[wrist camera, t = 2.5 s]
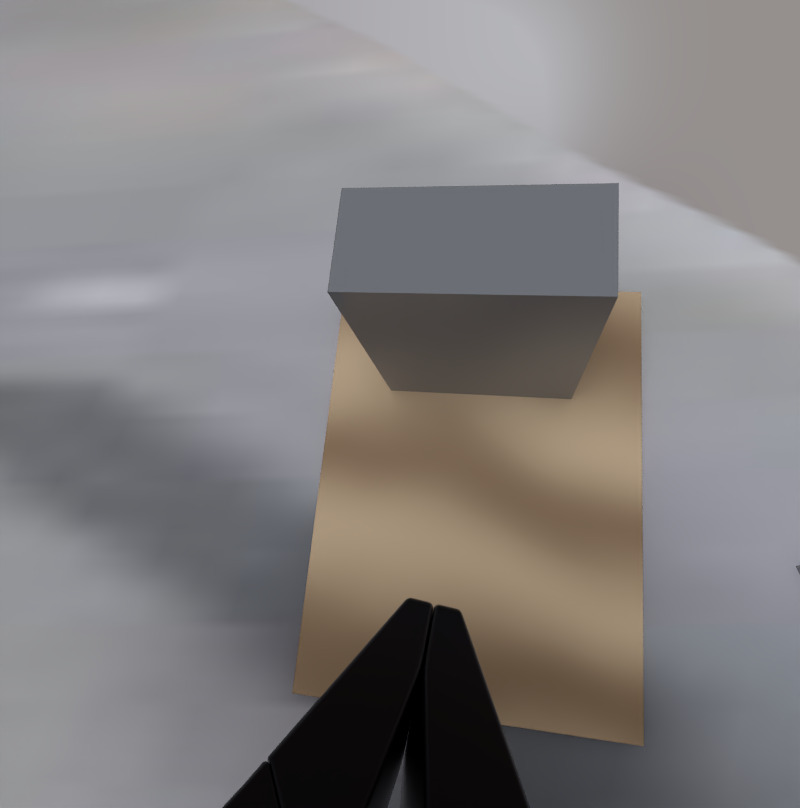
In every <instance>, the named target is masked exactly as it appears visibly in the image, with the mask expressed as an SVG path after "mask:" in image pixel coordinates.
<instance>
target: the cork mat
mask: <svg viewBox="0 0 800 808" xmlns="http://www.w3.org/2000/svg"><path fill="white" fill-rule="evenodd" d="M407 598H414V599H419V600H423V601H427V602H430V603H431V604H432V605H433V608H434V606H435V605H438V604H439V605H443V606H447V607H452V608H456V609H459V610H460V611H461V612H462V614H463V617H464V620H465V623H466V626H467V629H468V631H469V634H470V637H471V640H472V643H473V646H474V649H475V651H476V654H477V657H478V660H479V663H480V666H481V669H482V672H483V674H484V677H485V680H486V683H487V686H488V689H489V692H490V695H491V697H492V700H493V703H494V706H495V709H496V712H497V715H498V717H499V720H500V723H501V725H506V726H513V727H519V728H526V729H533V730H539V731H546V732H553V733H559V734H566V735H572V736H579V737H586V738H592V739H599V740H605V741H612V742H619V743H625V744H632V745H639V746H644V698H643V543H642V388H641V292H618V298H617V300H616V302H615V305H614V307H613V309H612V311H611V313H610V316H609V318H608V320H607V322H606V324H605V327H604V329H603V331H602V333H601V335H600V337H599V340H598V342H597V344H596V346H595V348H594V351H593V353H592V355H591V357H590V359H589V362H588V364H587V366H586V368H585V370H584V372H583V375H582V377H581V379H580V381H579V383H578V386H577V388H576V390H575V392H574V394H573V397H572V399H556V398H535V397H515V396H494V395H473V394H452V393H432V392H411V391H391V390H390V388H389V387H388V385H387V384H386V382H385V380H384V379H383V377H382V376H381V374H380V373H379V371H378V370H377V368H376V366H375V365H374V363H373V362H372V360H371V359H370V357H369V356H368V354H367V352H366V351H365V349H364V348H363V346H362V345H361V343H360V342H359V340H358V338H357V337H356V335H355V334H354V332H353V331H352V329H351V328H350V326H349V324H348V323H347V321H346V320H345V318H344V317H343V315H342V314H341V322H340V330H339V337H338V345H337V353H336V360H335V368H334V376H333V384H332V391H331V399H330V407H329V414H328V422H327V430H326V438H325V445H324V453H323V461H322V468H321V476H320V484H319V492H318V499H317V507H316V515H315V522H314V530H313V538H312V546H311V553H310V561H309V569H308V576H307V584H306V592H305V600H304V607H303V615H302V623H301V630H300V638H299V646H298V654H297V661H296V669H295V677H294V684H293V692H292V693H295V694H301V695H308V696H314V697H321V696H322V695H323V694H324V692H325V691H326V690H327V689H328V688H329V687H330V686H331V684H332V683H333V682H334V681H335V680H336V679H337V678H338V676H339V675H340V674H341V673H342V672H343V671H344V670H345V668H346V667H347V666H348V665H349V664H350V663H351V662H352V660H353V659H354V658H355V657H356V656H357V655H358V654H359V652H360V651H361V650H362V649H363V648H364V647H365V645H366V644H367V643H368V642H369V641H370V640H371V639H372V637H373V636H374V635H375V634H376V633H377V632H378V631H379V629H380V628H381V627H382V626H383V625H384V624H385V623H386V621H387V620H388V619H389V618H390V617H391V616H392V615H393V613H394V612H395V611H396V610H397V609H398V608H399V607H400V605H401V604H402V603H403V602H404V601H405V600H406V599H407ZM432 613H433V612H432Z"/></svg>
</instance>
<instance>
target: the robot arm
mask: <svg viewBox="0 0 800 808" xmlns="http://www.w3.org/2000/svg"><path fill="white" fill-rule="evenodd" d="M432 612H433V613H432ZM410 722H411V723H410ZM409 727H410V728H409ZM408 732H409V733H408ZM407 737H408V738H407ZM406 741H407V744H406ZM405 746H406V751H405V757H404V767H403V777H402V789H401V802H400V808H530V806H529V803H528V801H527V798H526V795H525V792H524V789H523V786H522V783H521V781H520V778H519V775H518V772H517V769H516V766H515V763H514V760H513V758H512V755H511V752H510V749H509V746H508V743H507V740H506V738H505V735H504V732H503V729H502V726H501V723H500V720H499V717H498V715H497V712H496V709H495V706H494V703H493V700H492V697H491V695H490V692H489V689H488V686H487V683H486V680H485V677H484V674H483V672H482V669H481V666H480V663H479V660H478V657H477V654H476V651H475V649H474V646H473V643H472V640H471V637H470V634H469V631H468V629H467V626H466V623H465V620H464V617H463V614H462V612H461V611H460V610H459V609H456V608H452V607H447V606H443V605H439V604H438V605H435V606H434V608H433V605H432V604H431V603H430V602H427V601H423V600H419V599H414V598H407V599H406V600H405V601H404V602H403V603H402V604H401V605H400V607H399V608H398V609H397V610H396V611H395V612H394V613H393V615H392V616H391V617H390V618H389V619H388V620H387V621H386V623H385V624H384V625H383V626H382V627H381V628H380V629H379V631H378V632H377V633H376V634H375V635H374V636H373V637H372V639H371V640H370V641H369V642H368V643H367V644H366V645H365V647H364V648H363V649H362V650H361V651H360V652H359V654H358V655H357V656H356V657H355V658H354V659H353V660H352V662H351V663H350V664H349V665H348V666H347V667H346V668H345V670H344V671H343V672H342V673H341V674H340V675H339V676H338V678H337V679H336V680H335V681H334V682H333V683H332V684H331V686H330V687H329V688H328V689H327V690H326V691H325V692H324V694H323V695H322V696H321V697H320V698H319V699H318V700H317V702H316V703H315V704H314V705H313V706H312V707H311V708H310V710H309V711H308V712H307V713H306V714H305V715H304V716H303V718H302V719H301V720H300V721H299V722H298V723H297V724H296V726H295V727H294V728H293V729H292V730H291V731H290V732H289V734H288V735H287V736H286V737H285V738H284V739H283V741H282V742H281V743H280V744H279V745H278V746H277V747H276V749H275V750H274V751H273V752H272V753H271V754H270V755H269V757H268V762H266V761H265V762H263V763H262V764H261V765H260V766H259V768H258V769H257V770H256V771H255V772H254V773H253V774H252V776H251V777H250V778H249V779H248V780H247V781H246V782H245V784H244V785H243V786H242V787H241V788H240V789H239V790H238V791H237V792H236V793H235V794H234V796H233V797H232V798H231V799H230V800H229V801H228V802H227V803H226V804H225V805H224V806H223V807H222V808H387V807H388V804H389V801H390V798H391V794H392V791H393V788H394V785H395V782H396V779H397V775H398V772H399V769H400V765H401V762H402V758H403V755H404V750H405Z"/></svg>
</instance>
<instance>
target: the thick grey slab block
mask: <svg viewBox="0 0 800 808" xmlns="http://www.w3.org/2000/svg"><path fill="white" fill-rule="evenodd" d="M618 207H619V183H609V184H552V185H496V186H439V187H383V188H342V190H341V197H340V205H339V212H338V219H337V226H336V234H335V241H334V248H333V256H332V263H331V270H330V277H329V285H328V293H329V295H330V297H331V298H332V300H333V301H334V303H335V304H336V306H337V307H338V309H339V310H340V312H341V314H342V315H343V317H344V318H345V320H346V321H347V323H348V324H349V326H350V328H351V329H352V331H353V332H354V334H355V335H356V337H357V338H358V340H359V342H360V343H361V345H362V346H363V348H364V349H365V351H366V352H367V354H368V356H369V357H370V359H371V360H372V362H373V363H374V365H375V366H376V368H377V370H378V371H379V373H380V374H381V376H382V377H383V379H384V380H385V382H386V384H387V385H388V387H389V388H390V390H391V391H411V392H432V393H452V394H473V395H494V396H515V397H535V398H556V399H572V397H573V394H574V392H575V390H576V388H577V386H578V383H579V381H580V379H581V377H582V375H583V372H584V370H585V368H586V366H587V364H588V362H589V359H590V357H591V355H592V353H593V351H594V348H595V346H596V344H597V342H598V340H599V337H600V335H601V333H602V331H603V329H604V327H605V324H606V322H607V320H608V318H609V316H610V313H611V311H612V309H613V307H614V305H615V302H616V300H617V298H618Z"/></svg>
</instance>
